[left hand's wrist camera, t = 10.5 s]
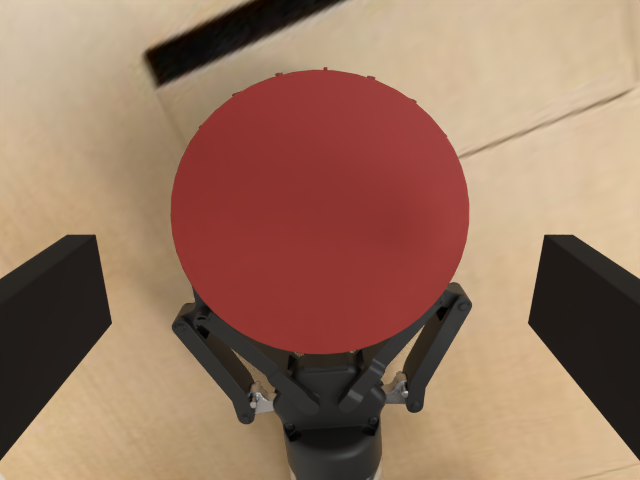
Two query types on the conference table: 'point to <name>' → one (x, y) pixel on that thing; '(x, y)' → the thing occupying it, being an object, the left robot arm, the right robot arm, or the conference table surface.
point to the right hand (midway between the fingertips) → (309, 199)
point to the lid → (319, 211)
